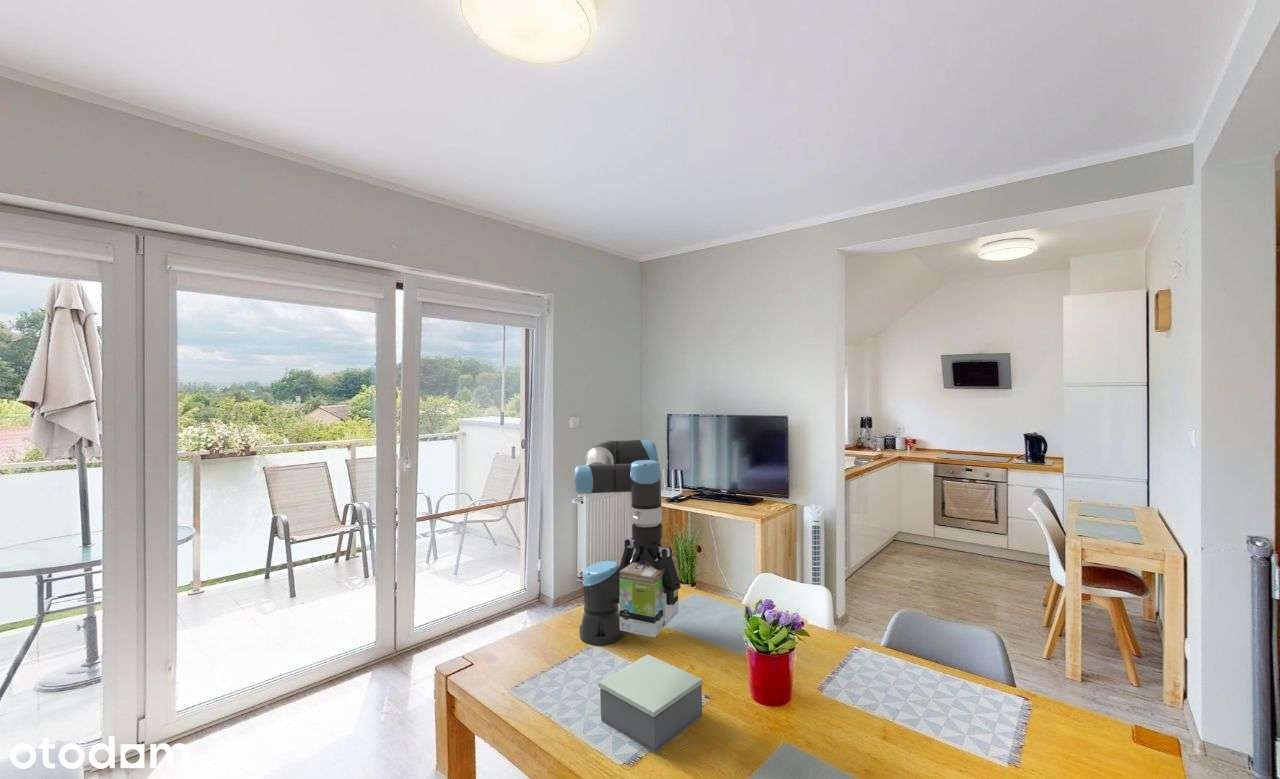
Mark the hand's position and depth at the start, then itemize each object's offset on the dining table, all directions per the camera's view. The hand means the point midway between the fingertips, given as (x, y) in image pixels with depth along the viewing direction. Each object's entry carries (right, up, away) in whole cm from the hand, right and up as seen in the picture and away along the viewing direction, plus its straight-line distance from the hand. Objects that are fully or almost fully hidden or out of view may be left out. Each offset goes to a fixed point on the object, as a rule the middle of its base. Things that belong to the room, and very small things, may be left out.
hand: (649, 610), depth 131 cm
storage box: (+1, -27, 0) cm, 27 cm away
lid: (0, -19, 0) cm, 19 cm away
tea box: (0, -3, 0) cm, 3 cm away
